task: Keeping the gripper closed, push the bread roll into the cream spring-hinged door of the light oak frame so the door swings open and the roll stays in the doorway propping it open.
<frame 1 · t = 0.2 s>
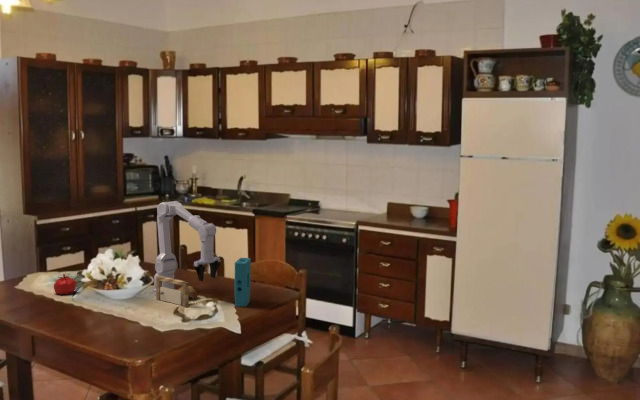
hand: (207, 279, 279), 10 cm above the table, tool pointing down, fingers open, 7 cm apart
bread roll: (185, 299, 282), on the table
pomegranate: (65, 293, 287), on the table
block: (242, 304, 276), on the table
door frame: (182, 305, 271), on the table
door: (171, 296, 274), point 3 cm above the table, hinge at 0.0°
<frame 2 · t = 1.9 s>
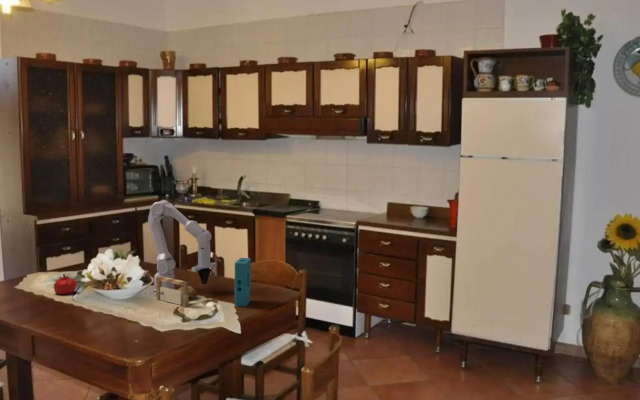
hand: (204, 283, 292), 5 cm above the table, tool pointing down, fingers closed
nothing on the table moved.
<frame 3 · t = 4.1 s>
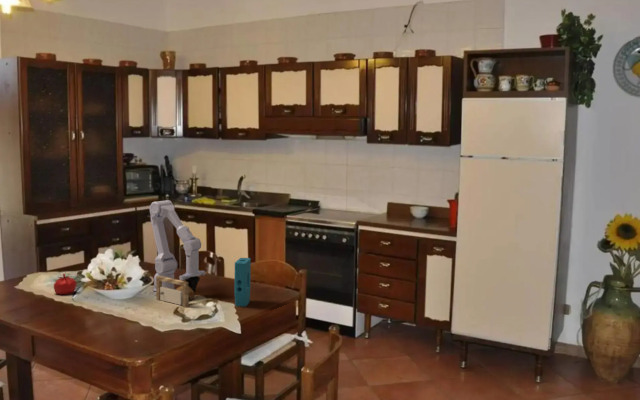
hand: (192, 292, 286), 2 cm above the table, tool pointing down, fingers closed
bread roll: (182, 299, 282), on the table, touching gripper
everything else where it was.
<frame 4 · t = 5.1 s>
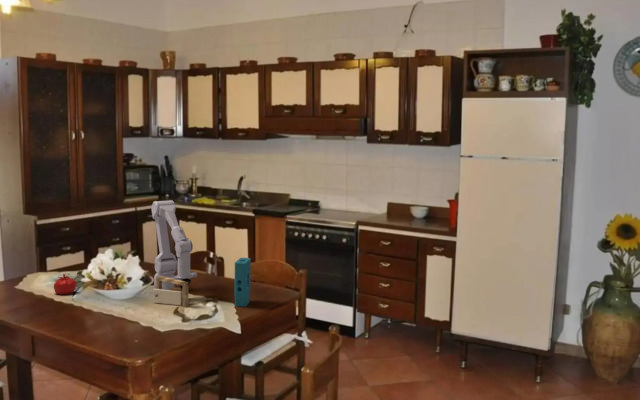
hand: (184, 294, 282), 2 cm above the table, tool pointing down, fingers closed, pressing on bread roll
bread roll: (175, 301, 278), on the table, touching door, gripper
door: (168, 297, 271), point 3 cm above the table, hinge at 19.9°, touching bread roll
everything else where it was.
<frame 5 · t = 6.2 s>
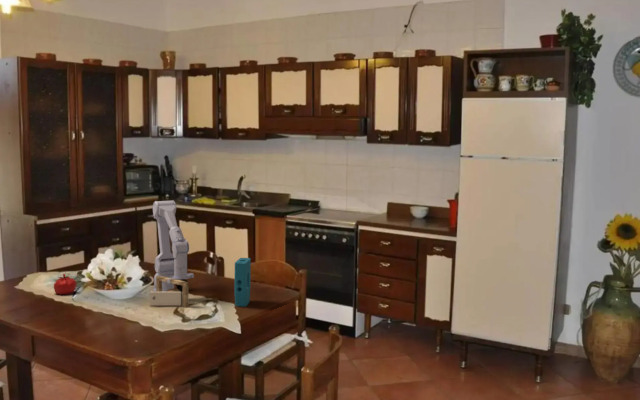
hand: (180, 295, 280), 2 cm above the table, tool pointing down, fingers closed, pressing on bread roll
bread roll: (172, 302, 276), on the table, touching door, gripper
door: (166, 298, 269), point 3 cm above the table, hinge at 39.1°, touching bread roll
everything else where it was.
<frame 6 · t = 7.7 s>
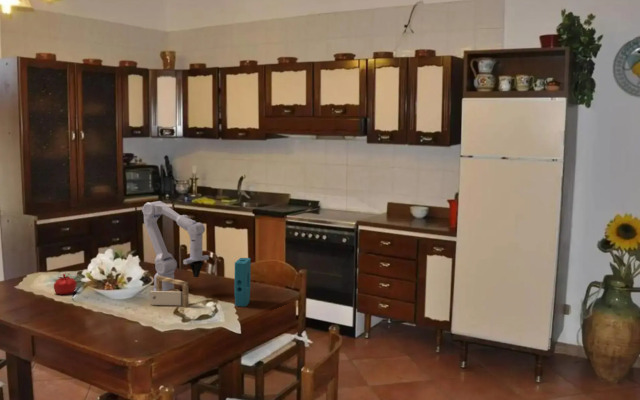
hand: (196, 276, 287), 9 cm above the table, tool pointing down, fingers closed
bread roll: (172, 302, 276), on the table
door: (167, 298, 270), point 3 cm above the table, hinge at 34.8°
everything else where it was.
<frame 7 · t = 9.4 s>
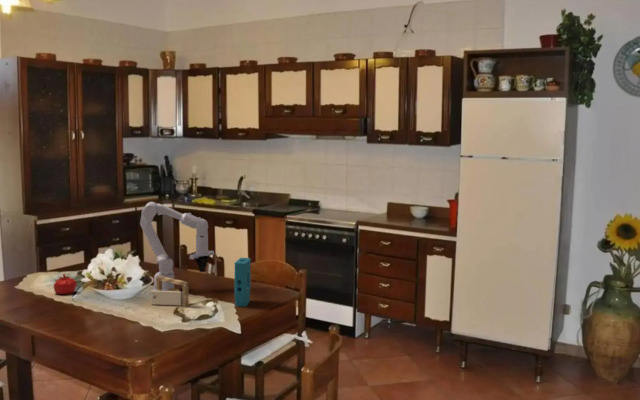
hand: (202, 271, 296), 9 cm above the table, tool pointing down, fingers closed
door: (167, 298, 270), point 3 cm above the table, hinge at 31.3°
everything else where it was.
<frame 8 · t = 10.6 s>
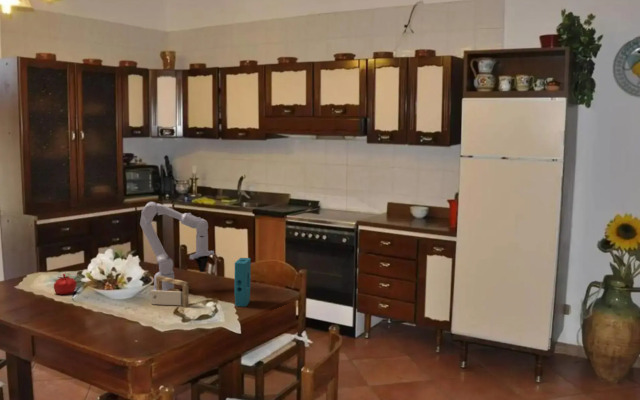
hand: (202, 271, 296), 9 cm above the table, tool pointing down, fingers closed
bread roll: (172, 302, 277), on the table, touching door
door: (167, 298, 270), point 3 cm above the table, hinge at 30.1°, touching bread roll
everything else where it was.
at the end: door at +30° (first picture: +0°); bread roll inside the target area (2.2 cm from its centre), on the table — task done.
